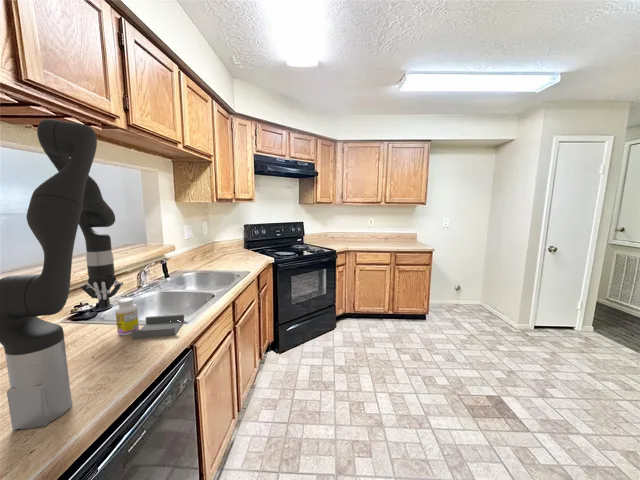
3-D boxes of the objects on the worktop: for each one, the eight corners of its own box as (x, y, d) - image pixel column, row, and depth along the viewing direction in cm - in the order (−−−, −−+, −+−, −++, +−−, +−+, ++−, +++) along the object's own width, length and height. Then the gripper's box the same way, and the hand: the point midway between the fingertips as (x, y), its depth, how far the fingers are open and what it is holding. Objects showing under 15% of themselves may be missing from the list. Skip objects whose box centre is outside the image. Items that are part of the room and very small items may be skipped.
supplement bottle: (116, 331, 103) (113, 299, 101) (136, 326, 107) (134, 295, 105) (119, 338, 98) (116, 304, 96) (140, 332, 102) (138, 299, 101)
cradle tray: (174, 335, 100) (174, 328, 100) (132, 339, 97) (131, 331, 97) (184, 320, 113) (183, 314, 112) (147, 323, 110) (146, 316, 109)
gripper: (72, 265, 92) (77, 313, 95) (116, 264, 95) (120, 310, 97) (85, 261, 99) (90, 305, 102) (126, 260, 102) (129, 303, 105)
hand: (104, 308), depth 100 cm, fingers closed
